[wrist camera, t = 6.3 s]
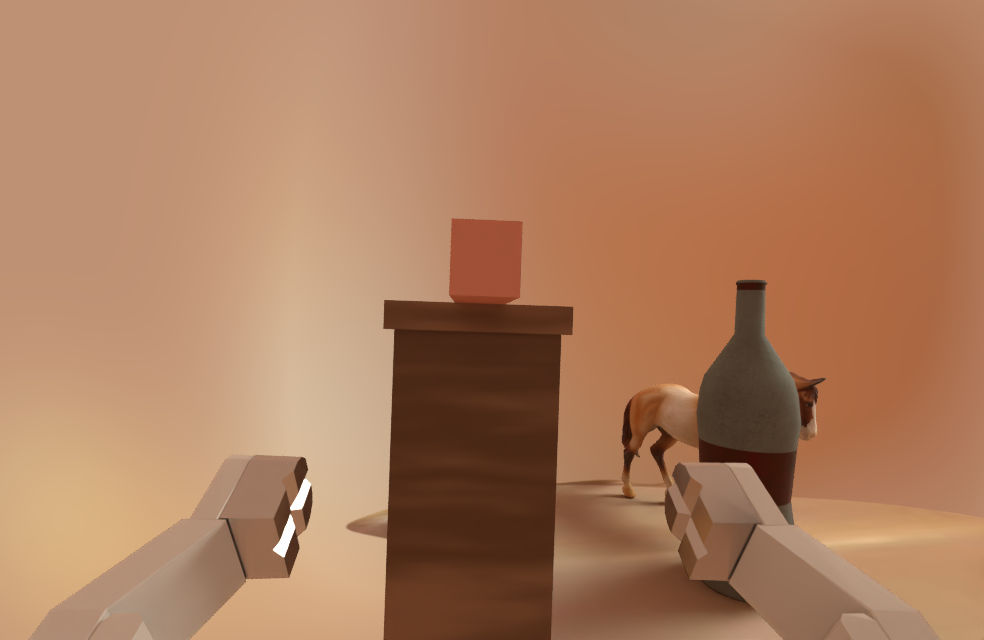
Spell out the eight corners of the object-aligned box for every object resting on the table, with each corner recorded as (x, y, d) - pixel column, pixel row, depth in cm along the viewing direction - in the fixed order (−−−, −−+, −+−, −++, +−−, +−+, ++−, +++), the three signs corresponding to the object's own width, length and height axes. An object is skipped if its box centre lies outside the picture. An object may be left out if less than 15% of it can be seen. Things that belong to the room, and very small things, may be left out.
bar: (519, 297, 18) (522, 221, 18) (449, 295, 18) (451, 218, 18) (491, 309, 40) (492, 275, 40) (459, 308, 40) (460, 274, 40)
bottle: (766, 561, 53) (775, 285, 54) (817, 611, 44) (828, 278, 44) (678, 556, 54) (687, 283, 54) (711, 604, 45) (722, 275, 45)
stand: (556, 794, 26) (573, 306, 26) (367, 796, 26) (384, 299, 26) (525, 629, 40) (536, 311, 40) (402, 628, 40) (413, 307, 40)
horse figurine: (826, 566, 53) (832, 375, 53) (778, 580, 50) (785, 376, 50) (630, 478, 81) (634, 353, 81) (592, 483, 78) (596, 353, 78)
